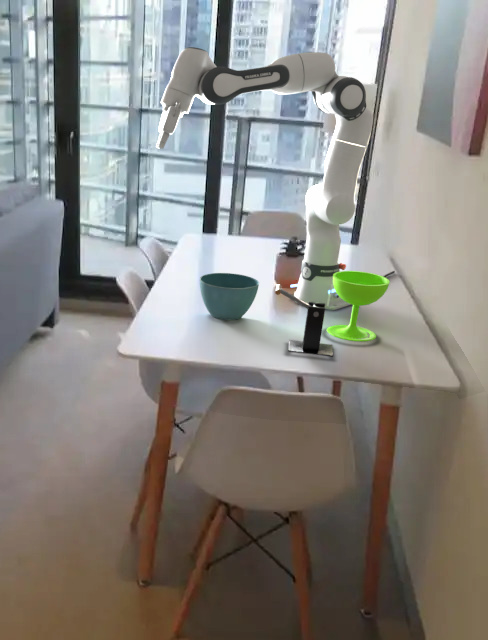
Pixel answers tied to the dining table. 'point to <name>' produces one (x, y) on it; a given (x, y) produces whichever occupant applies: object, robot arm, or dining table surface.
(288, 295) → the lever
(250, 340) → the dining table surface
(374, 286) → the wineglass
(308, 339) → the bracket
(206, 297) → the teal ceramic bowl
